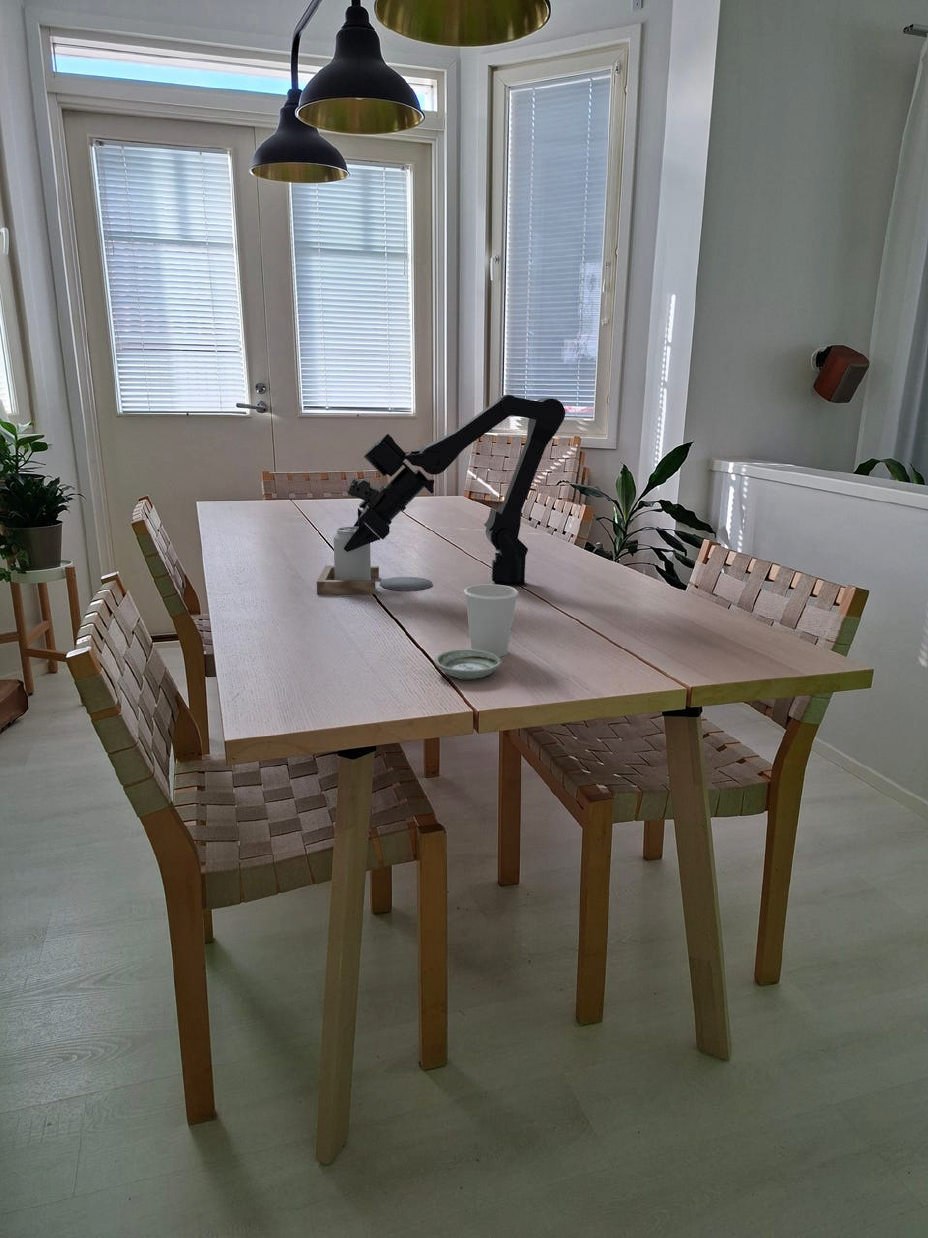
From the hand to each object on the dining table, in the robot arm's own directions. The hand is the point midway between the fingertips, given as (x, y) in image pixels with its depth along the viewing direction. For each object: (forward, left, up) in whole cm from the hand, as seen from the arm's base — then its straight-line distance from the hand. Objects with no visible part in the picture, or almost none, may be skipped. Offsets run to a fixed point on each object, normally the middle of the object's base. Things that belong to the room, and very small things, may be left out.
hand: (345, 546), depth 166 cm
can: (-1, 0, -8) cm, 8 cm away
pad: (-12, -1, -8) cm, 15 cm away
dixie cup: (-26, +44, -8) cm, 52 cm away
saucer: (-22, +54, -9) cm, 59 cm away
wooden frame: (-1, 0, -8) cm, 8 cm away
